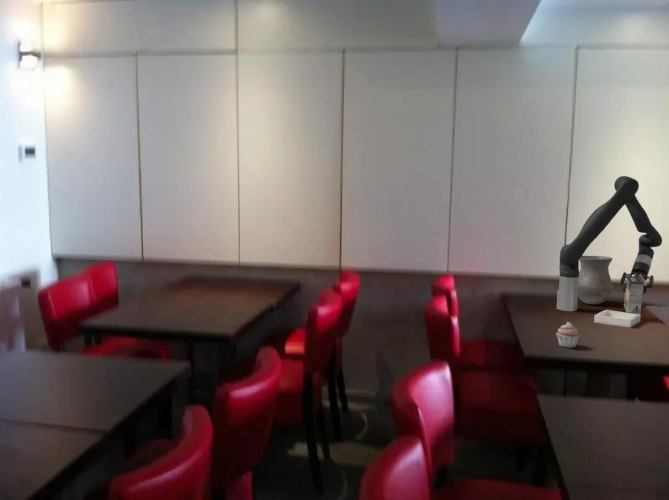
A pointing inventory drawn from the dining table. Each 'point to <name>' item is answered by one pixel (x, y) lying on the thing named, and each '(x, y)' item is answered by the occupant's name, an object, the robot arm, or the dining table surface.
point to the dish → (617, 318)
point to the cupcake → (567, 336)
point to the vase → (594, 279)
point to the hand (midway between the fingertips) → (633, 292)
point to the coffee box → (633, 294)
